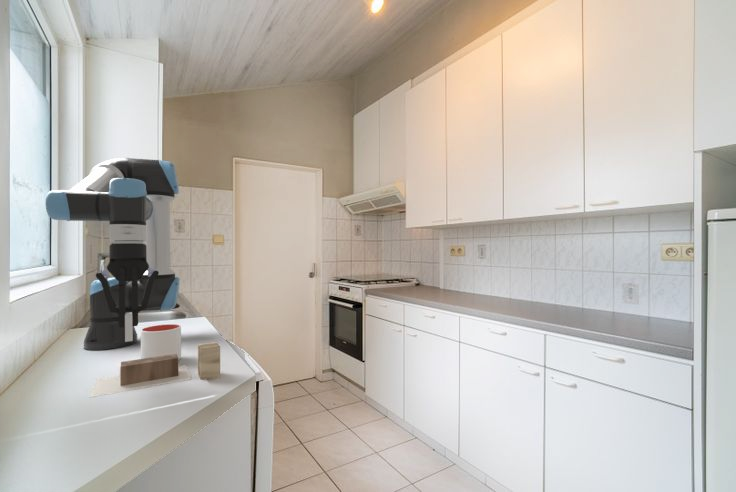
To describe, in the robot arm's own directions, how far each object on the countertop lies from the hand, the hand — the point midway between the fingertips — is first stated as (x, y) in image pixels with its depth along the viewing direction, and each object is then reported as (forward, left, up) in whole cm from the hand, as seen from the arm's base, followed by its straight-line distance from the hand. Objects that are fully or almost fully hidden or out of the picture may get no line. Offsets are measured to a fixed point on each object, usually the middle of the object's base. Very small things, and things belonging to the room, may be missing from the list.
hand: (128, 340), depth 88 cm
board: (0, +3, -10) cm, 11 cm away
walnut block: (0, -2, -8) cm, 8 cm away
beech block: (+6, +17, -11) cm, 21 cm away
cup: (-14, +8, -11) cm, 19 cm away
